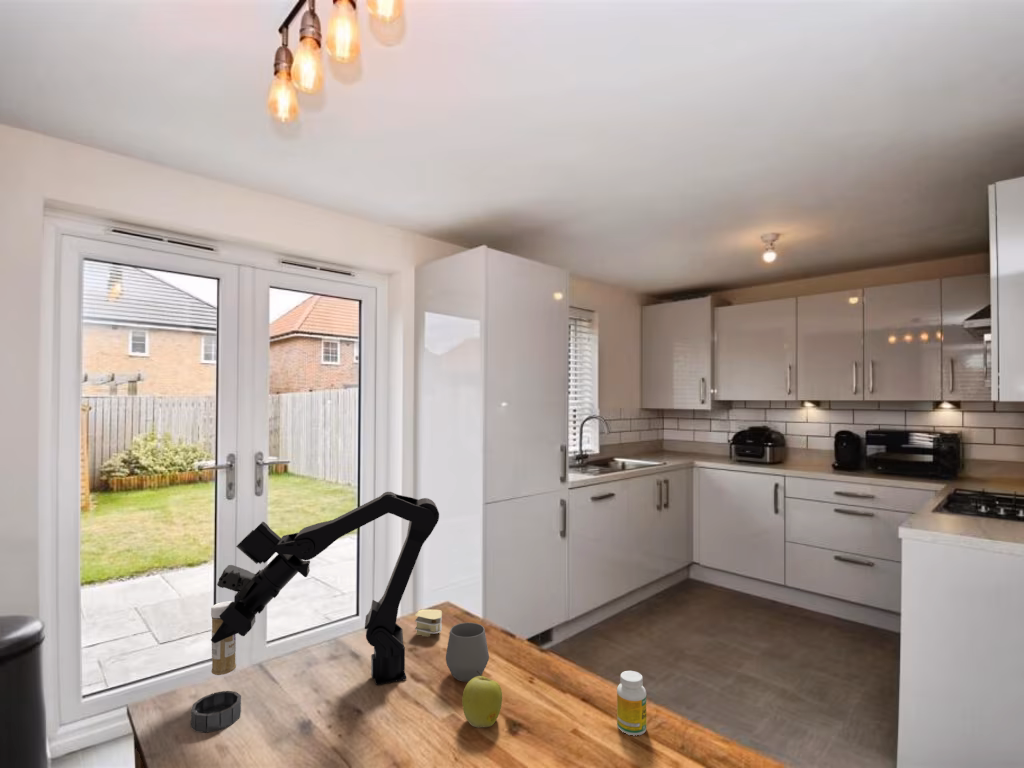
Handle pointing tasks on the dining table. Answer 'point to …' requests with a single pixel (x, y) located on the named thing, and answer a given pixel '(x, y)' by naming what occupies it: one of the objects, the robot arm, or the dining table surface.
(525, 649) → the dining table surface
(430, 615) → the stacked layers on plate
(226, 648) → the sprinkles bottle
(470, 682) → the apple
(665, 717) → the dining table surface
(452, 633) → the cup
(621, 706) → the supplement bottle
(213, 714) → the bottle holder
